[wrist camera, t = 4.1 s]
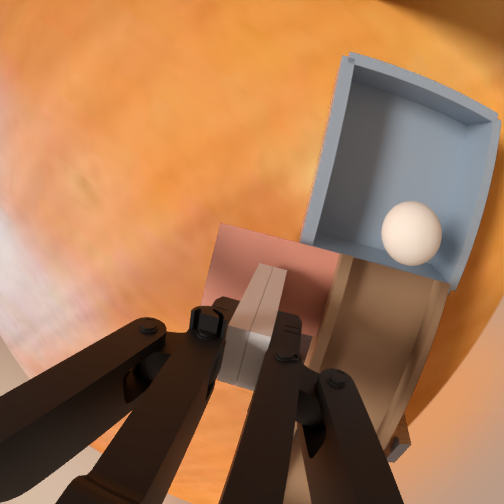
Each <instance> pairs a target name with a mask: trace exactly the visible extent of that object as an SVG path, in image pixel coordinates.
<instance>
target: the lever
mask: <svg viewBox="0 0 504 504" xmlns="http://www.w3.org/2000/svg"><path fill="white" fill-rule="evenodd" d="M259 263H261V264H265V265H269V266H273V267H277V268H281V269H284V270H287V273H286V277H285V282H284V286H283V290H282V295H281V299H280V303H279V307H278V310H279V311H283V312H286V313H290V314H294V315H298V316H299V318H300V319H301V321H302V332H301V333H302V334H306V335H310V336H313V338H312V341H311V344H310V347H309V350H308V354H307V357H306V360H305V363H304V365H305V366H307V367H308V368H309V369H311V370H313V371H315V372H317V373H321V372H322V371H323V370H325V369H329V368H334V369H339V370H342V371H344V372H346V373H347V374H349V375H350V376H351V377H352V379H353V380H354V382H355V384H356V387H357V389H358V391H359V394H360V396H361V398H362V401H363V403H364V405H365V408H366V410H367V412H368V415H369V417H370V419H371V422H372V424H373V427H374V429H375V431H376V434H377V436H378V439H379V441H380V444H381V446H382V449H383V451H384V450H385V449H386V448H387V446H388V444H389V440H390V438H391V436H392V435H393V433H394V431H395V429H396V427H397V425H398V423H399V421H400V419H401V417H402V415H403V413H404V411H405V409H406V407H407V405H408V402H409V400H410V398H411V396H412V394H413V391H414V389H415V387H416V384H417V382H418V380H419V377H420V375H421V372H422V370H423V367H424V365H425V362H426V360H427V357H428V354H429V352H430V349H431V346H432V343H433V340H434V338H435V335H436V332H437V328H438V325H439V322H440V319H441V316H442V312H443V309H444V306H445V302H446V298H447V295H448V291H449V287H450V284H449V283H446V282H442V281H437V280H433V279H430V278H426V277H423V276H419V275H416V274H412V273H409V272H405V271H401V270H398V269H394V268H391V267H387V266H383V265H380V264H376V263H373V262H369V261H365V260H362V259H358V258H354V257H353V256H349V255H345V254H339V253H336V252H332V251H328V250H324V249H321V248H317V247H313V246H309V245H305V244H302V243H298V242H294V241H290V240H286V239H282V238H278V237H274V236H271V235H267V234H263V233H259V232H255V231H251V230H247V229H243V228H239V227H235V226H231V225H227V224H223V223H221V224H220V228H219V232H218V236H217V240H216V243H215V247H214V252H213V256H212V260H211V264H210V268H209V272H208V276H207V280H206V285H205V289H204V293H203V297H202V302H201V306H212V304H213V303H214V301H215V300H216V299H218V298H220V297H222V296H225V297H228V298H232V299H235V300H239V301H241V299H242V297H243V295H244V293H245V291H246V289H247V287H248V285H249V283H250V281H251V279H252V277H253V275H254V273H255V271H256V269H257V267H258V265H259ZM283 504H312V503H311V498H310V492H309V487H308V482H307V477H306V471H305V466H304V461H303V456H302V450H301V445H300V440H299V435H298V430H297V422H296V421H295V428H294V436H293V443H292V450H291V457H290V464H289V470H288V477H287V483H286V489H285V495H284V501H283Z"/></svg>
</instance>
